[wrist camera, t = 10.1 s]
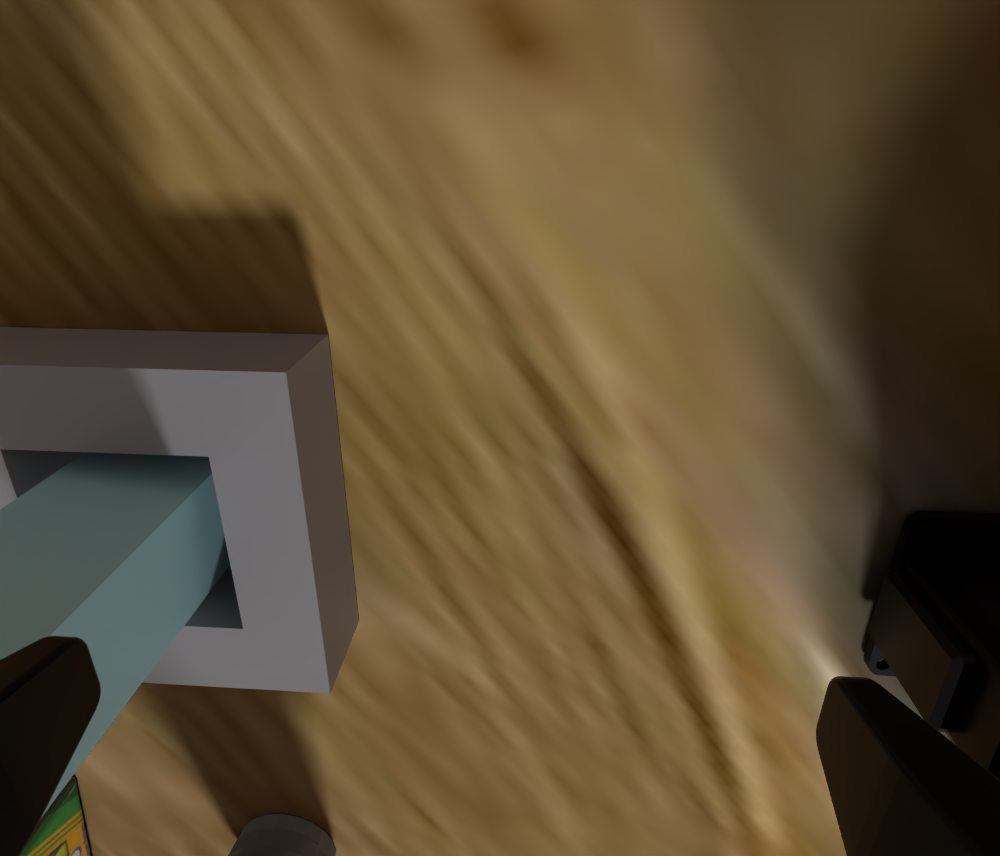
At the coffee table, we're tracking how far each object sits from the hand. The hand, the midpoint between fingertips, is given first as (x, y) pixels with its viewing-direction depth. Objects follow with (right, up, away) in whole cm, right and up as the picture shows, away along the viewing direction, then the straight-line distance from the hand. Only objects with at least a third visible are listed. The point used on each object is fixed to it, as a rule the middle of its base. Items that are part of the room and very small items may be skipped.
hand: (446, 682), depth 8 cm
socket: (-10, +1, +15) cm, 18 cm away
